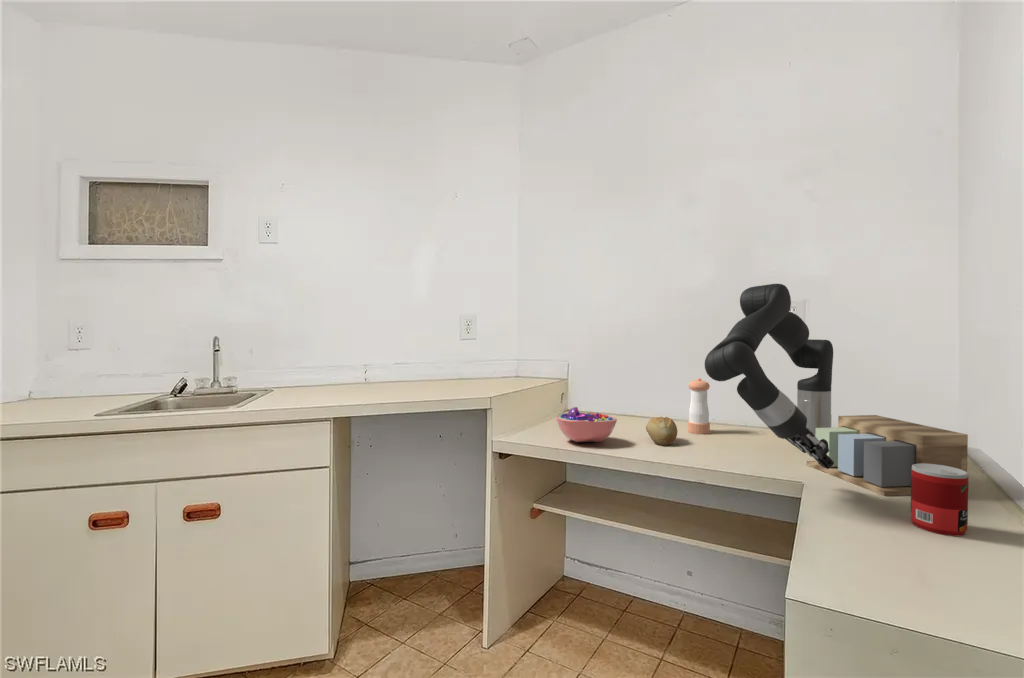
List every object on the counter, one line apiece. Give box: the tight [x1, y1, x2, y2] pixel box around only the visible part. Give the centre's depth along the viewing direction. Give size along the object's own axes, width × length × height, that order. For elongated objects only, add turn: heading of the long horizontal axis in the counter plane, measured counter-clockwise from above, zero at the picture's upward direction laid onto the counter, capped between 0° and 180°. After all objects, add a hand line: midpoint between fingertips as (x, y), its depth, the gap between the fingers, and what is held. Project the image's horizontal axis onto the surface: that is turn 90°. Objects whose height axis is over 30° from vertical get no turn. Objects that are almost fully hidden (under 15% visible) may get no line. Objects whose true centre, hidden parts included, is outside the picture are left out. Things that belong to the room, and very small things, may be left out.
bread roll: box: [645, 416, 678, 447], centre depth 162 cm, size 10×15×8 cm, turn 176°
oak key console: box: [806, 414, 969, 497], centre depth 122 cm, size 25×20×13 cm
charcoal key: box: [864, 441, 916, 487], centre depth 113 cm, size 5×10×9 cm, turn 95°
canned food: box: [910, 463, 969, 537], centre depth 91 cm, size 8×8×11 cm
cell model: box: [555, 406, 618, 443], centre depth 161 cm, size 17×20×11 cm
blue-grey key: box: [838, 434, 886, 476], centre depth 121 cm, size 5×10×9 cm, turn 96°
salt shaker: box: [687, 377, 711, 435], centre depth 176 cm, size 7×7×19 cm
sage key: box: [814, 426, 860, 467], centre depth 129 cm, size 5×10×9 cm, turn 96°
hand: (828, 465), depth 112 cm, fingers closed
